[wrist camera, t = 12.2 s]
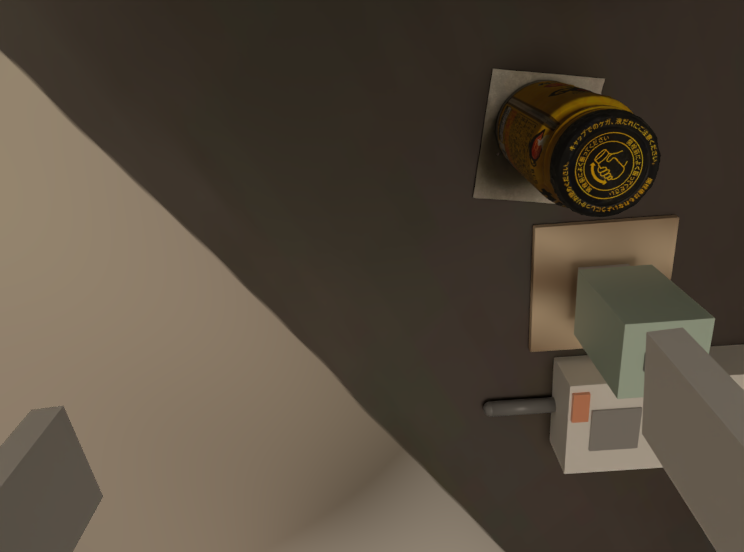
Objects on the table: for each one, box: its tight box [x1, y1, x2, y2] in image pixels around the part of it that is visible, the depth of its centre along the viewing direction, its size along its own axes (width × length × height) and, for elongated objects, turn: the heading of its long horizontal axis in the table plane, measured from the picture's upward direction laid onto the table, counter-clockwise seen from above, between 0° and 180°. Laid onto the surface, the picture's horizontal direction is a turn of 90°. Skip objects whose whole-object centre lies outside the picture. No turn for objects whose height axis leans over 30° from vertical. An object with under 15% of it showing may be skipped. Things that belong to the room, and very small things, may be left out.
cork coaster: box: [529, 215, 679, 352], centre depth 44 cm, size 10×10×1 cm
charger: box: [574, 264, 715, 399], centre depth 39 cm, size 5×5×10 cm
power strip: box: [483, 344, 744, 474], centre depth 46 cm, size 26×8×4 cm, turn 94°
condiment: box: [473, 69, 661, 217], centre depth 34 cm, size 7×8×12 cm
